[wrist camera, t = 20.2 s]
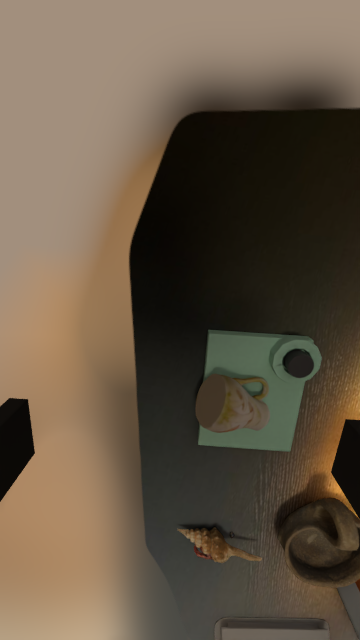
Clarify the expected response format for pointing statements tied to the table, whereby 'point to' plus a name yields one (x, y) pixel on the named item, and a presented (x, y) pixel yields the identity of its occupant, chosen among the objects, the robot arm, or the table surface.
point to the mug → (231, 404)
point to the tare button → (298, 363)
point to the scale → (259, 384)
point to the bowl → (322, 543)
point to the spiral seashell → (215, 545)
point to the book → (271, 629)
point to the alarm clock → (352, 603)
